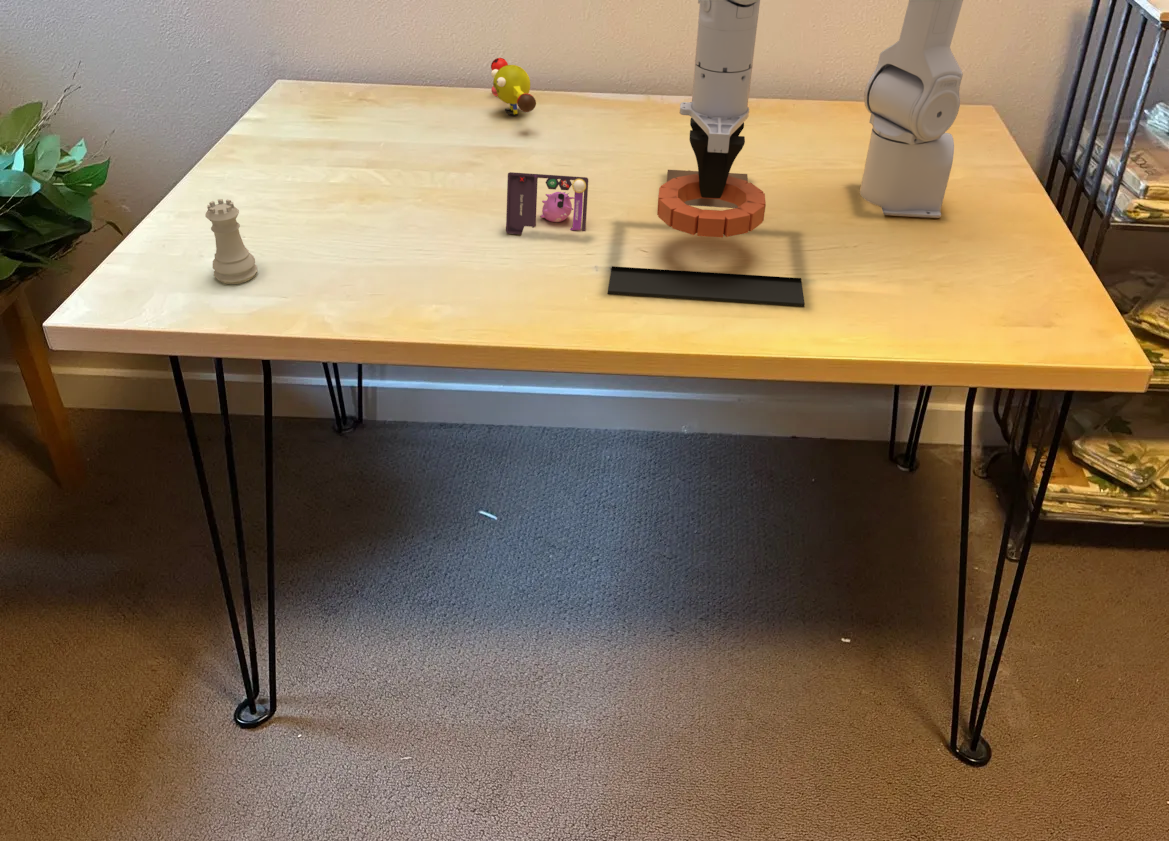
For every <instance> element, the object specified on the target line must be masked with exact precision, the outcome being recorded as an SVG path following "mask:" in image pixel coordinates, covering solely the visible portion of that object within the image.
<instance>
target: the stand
mask: <svg viewBox="0 0 1169 841" xmlns="http://www.w3.org/2000/svg"><path fill="white" fill-rule="evenodd" d="M692 174H698V175H699V173H698V170H686V169H685V170H683V169H667V173H666V182H668V181H670V180H671V179H673V178H675V179H676V177H681V176H687V175H692ZM728 176H731V177H735V178H738V179H742V180H745V181H748V182H749V179H748V178H749V177H748V173H740V172H739V173H738V172H737V173H736V172H729V175H728ZM684 203H685V204H686V205H689V206H692V207H707V208H708V207H709V208H726V209H733V208H738V206H737V205H735V204H733V203H730V202H727V201H723V200H720V199H707V198H699V199H694V200H689V201H685V202H684Z"/></svg>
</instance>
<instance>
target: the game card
mask: <svg viewBox="0 0 1169 841" xmlns="http://www.w3.org/2000/svg"><path fill="white" fill-rule="evenodd" d="M539 179H546V181H545V185H546V187H547V189H548V190H557V188H558V187H559V188H560V190H561V191H555V192H552V193H545V196H546V197H547V199H546V200H544V199H543V200H541V202H542V203H543V205H542V208H541V213H542V214H541V215H540V216H539V218H542V219H545V220H546V221H549V222H552V223H561V222H563V221H565V220H567V218H569V217H570V215H571V213H572V211H573V217H572V227H570V229H569V230H570V231H582V232H586V230H587V228H586V227H587V213H588V212H587V211H588V196H589V195H588V194H589V193H588V192H589V178H588V177H585V176H572V175H557V174H544V173H543V174H541V173H525V172H511V171H509V172H507V181H506V182H507V184H506V213H505V214H506V218H505V233H506V234H508V235H509V234H510V235H522V234H523V232H524V229H525V227H529V228H533V229H534V228H536V226H537V202H538V180H539ZM570 188H572V190H573V191H574V195H573V196H569V194H570V192H567V193H566V191H569V190H570ZM562 191H563V192H562ZM571 200H573V204H572V201H571Z"/></svg>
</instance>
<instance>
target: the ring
mask: <svg viewBox="0 0 1169 841" xmlns="http://www.w3.org/2000/svg"><path fill="white" fill-rule="evenodd" d="M657 198H658V199H657V213H656V214H657V215H656V216H657V217H658V219H660V220H661V222H663V223H664V224H665V225H667V226H668V228H672V230H676V231H680V232H683V233H685V234H689V235H692V236H695V235H696V237H707V238H708V237H709V238H724V237H726V238H728V237H733V236H737V235H738V236H739V235H743V234H747V233H749V232H752V231H753V230H755V229H757V228H758V227H759V226H760V225H761V224H763V222H764V221H765V213H766V206H767V203H766V202H767V201H766V193H765V192H764V191H763V189H760V188H759V187H757V186H756V185H755V184H754V183H752V182H749V180H748V181H745V180H742V179H738V178H735V177H731V176H728V178H727V181H726V185H725V188H724V191H723V193H722V196H721V198H707V199H720V200H723V201H727V202H730V203H733V204H735V205H737V206H738V208H727V209H724V210H723V209H722V210H717V209H702V208H699V207H697V206H690V205H686V204H685V203H684V202H685V201H689V200H694V199H699V198H702V197H701V193H700V186H699V175H698V174H692V175H687V176H681V177H676V179H675V178H673V179H671V180H670V181H668V182H667V181H666V182H665V183H663V184H661V185H660V187H659V188H658V196H657Z"/></svg>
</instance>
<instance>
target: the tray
mask: <svg viewBox="0 0 1169 841" xmlns="http://www.w3.org/2000/svg"><path fill="white" fill-rule="evenodd" d="M802 281H803V280H802V277H789V276H787V277H786V276H774V275H771V276H770V275H756V274H742V273H727V272H726V273H725V272H712V271H711V272H709V271H693V270H678V269H676V270H675V269H661V268H646V267H645V268H644V267H629V266H615V265H614V266H613V265H611V268H610V275H609V281H608V287H607V295H616V296H617V295H618V296H630V297H631V296H632V297H650V298H662V299H663V298H664V299H677V300H679V299H681V300H693V301H695V300H696V301H709V302H711V301H713V302H725V303H740V304H741V303H742V304H754V305H755V304H756V305H771V306H787V307H801V308H802V307H805V304H806V303H805V296H804V290H803V289H804V288H803V282H802Z"/></svg>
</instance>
